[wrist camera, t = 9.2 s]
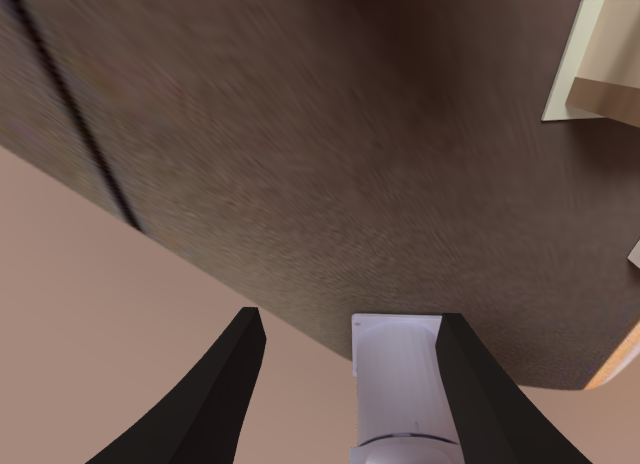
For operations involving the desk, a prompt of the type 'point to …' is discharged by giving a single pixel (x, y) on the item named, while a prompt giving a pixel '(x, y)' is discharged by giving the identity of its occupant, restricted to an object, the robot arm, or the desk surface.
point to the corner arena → (567, 73)
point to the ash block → (611, 65)
